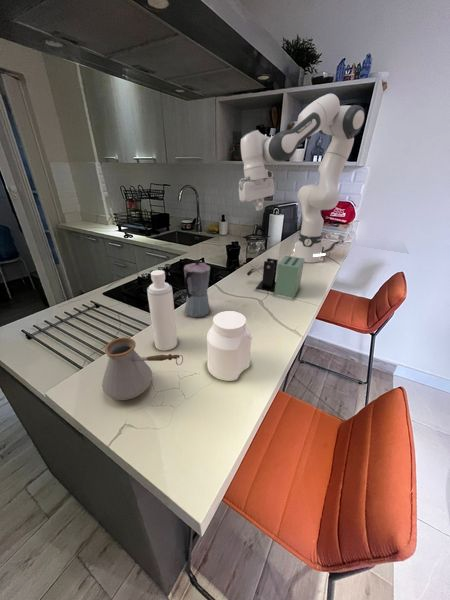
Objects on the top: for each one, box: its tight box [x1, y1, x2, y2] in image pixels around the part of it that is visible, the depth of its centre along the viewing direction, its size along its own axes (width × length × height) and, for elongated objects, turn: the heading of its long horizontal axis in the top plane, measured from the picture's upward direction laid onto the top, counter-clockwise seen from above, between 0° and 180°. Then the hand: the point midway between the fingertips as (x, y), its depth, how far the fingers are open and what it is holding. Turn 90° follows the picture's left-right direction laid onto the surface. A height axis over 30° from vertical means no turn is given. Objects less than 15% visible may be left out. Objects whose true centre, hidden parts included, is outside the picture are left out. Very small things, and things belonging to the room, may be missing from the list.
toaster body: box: [274, 255, 305, 299], centre depth 107 cm, size 8×12×14 cm, turn 154°
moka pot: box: [183, 259, 211, 318], centre depth 90 cm, size 10×15×20 cm, turn 164°
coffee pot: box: [101, 337, 184, 401], centre depth 58 cm, size 21×12×15 cm, turn 69°
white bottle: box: [146, 269, 178, 351], centre depth 72 cm, size 7×7×25 cm
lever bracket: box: [255, 257, 279, 294], centre depth 110 cm, size 8×10×13 cm
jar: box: [206, 310, 253, 382], centre depth 67 cm, size 12×10×15 cm
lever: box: [246, 261, 274, 276], centre depth 111 cm, size 12×5×2 cm, turn 64°
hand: (259, 209), depth 114 cm, fingers closed
